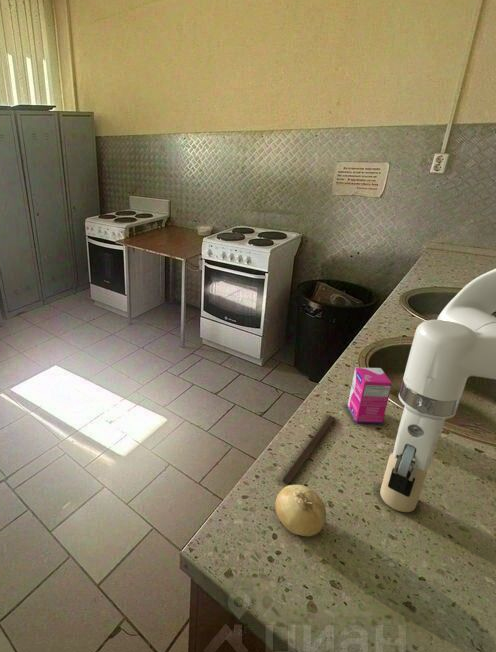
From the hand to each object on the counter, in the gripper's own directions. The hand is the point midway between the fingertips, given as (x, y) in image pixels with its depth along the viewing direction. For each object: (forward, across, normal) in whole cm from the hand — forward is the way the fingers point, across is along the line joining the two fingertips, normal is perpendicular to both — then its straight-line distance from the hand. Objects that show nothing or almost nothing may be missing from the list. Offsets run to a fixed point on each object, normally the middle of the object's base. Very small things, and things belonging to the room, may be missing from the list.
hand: (403, 478), depth 69 cm
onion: (+5, -16, +11) cm, 20 cm away
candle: (+5, 0, 0) cm, 5 cm away
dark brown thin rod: (+5, +2, +16) cm, 17 cm away
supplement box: (+5, +20, +11) cm, 23 cm away
